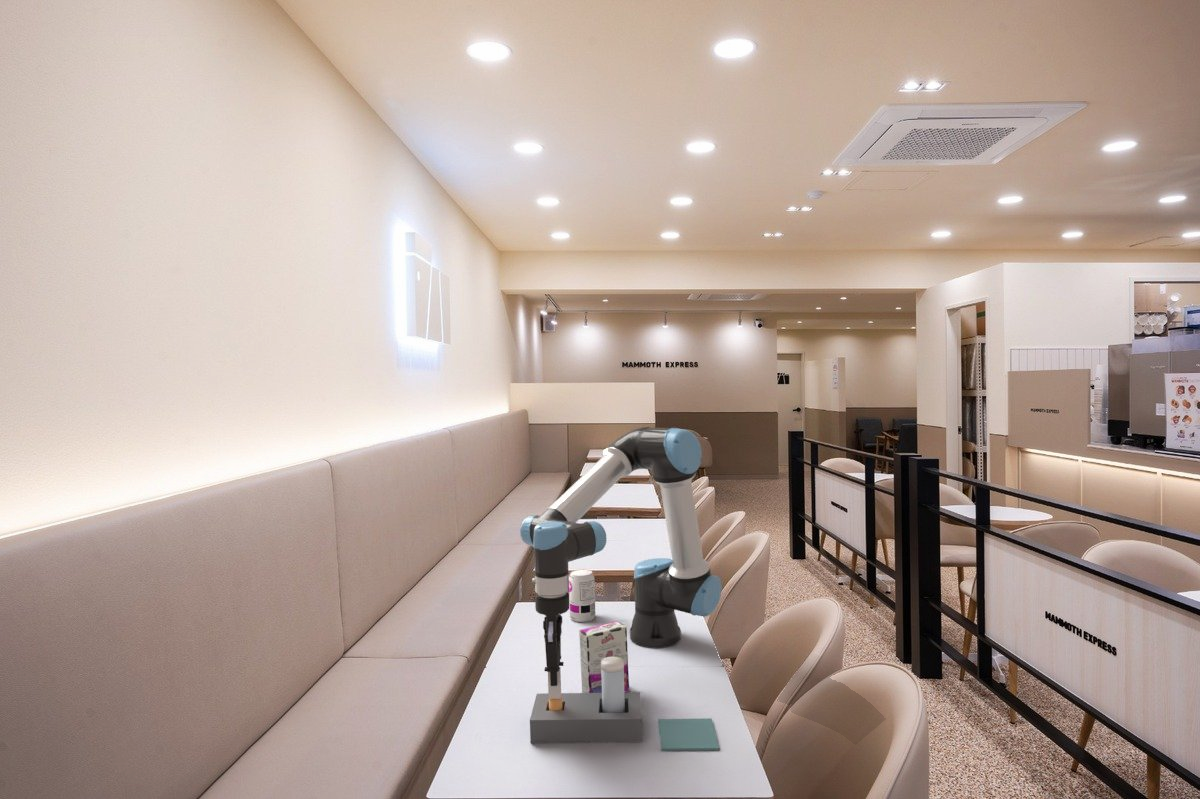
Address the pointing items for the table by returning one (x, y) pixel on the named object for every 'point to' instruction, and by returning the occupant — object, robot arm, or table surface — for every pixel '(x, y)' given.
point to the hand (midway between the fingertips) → (554, 697)
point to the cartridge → (612, 685)
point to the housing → (585, 720)
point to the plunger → (555, 704)
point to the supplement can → (582, 595)
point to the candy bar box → (601, 653)
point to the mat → (687, 735)
